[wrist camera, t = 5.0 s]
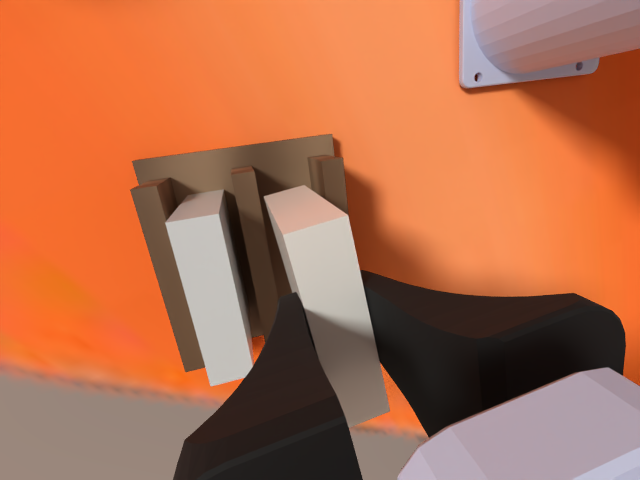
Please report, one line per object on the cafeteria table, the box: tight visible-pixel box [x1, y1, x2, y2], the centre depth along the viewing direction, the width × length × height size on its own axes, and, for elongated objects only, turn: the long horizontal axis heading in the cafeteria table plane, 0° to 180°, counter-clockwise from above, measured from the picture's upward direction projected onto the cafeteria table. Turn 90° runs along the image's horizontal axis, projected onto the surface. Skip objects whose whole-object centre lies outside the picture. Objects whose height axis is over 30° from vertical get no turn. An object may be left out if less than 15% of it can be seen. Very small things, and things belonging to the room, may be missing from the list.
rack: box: [130, 134, 349, 372], centre depth 18 cm, size 10×11×4 cm
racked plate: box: [165, 189, 254, 386], centre depth 16 cm, size 2×7×6 cm, turn 7°
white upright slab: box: [264, 185, 390, 428], centre depth 13 cm, size 2×7×6 cm, turn 13°
